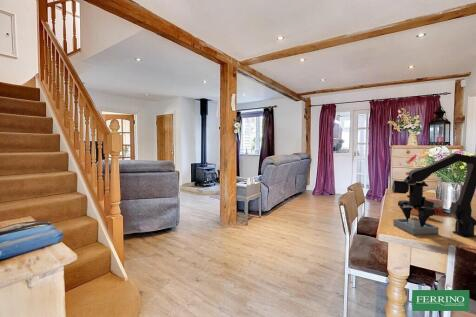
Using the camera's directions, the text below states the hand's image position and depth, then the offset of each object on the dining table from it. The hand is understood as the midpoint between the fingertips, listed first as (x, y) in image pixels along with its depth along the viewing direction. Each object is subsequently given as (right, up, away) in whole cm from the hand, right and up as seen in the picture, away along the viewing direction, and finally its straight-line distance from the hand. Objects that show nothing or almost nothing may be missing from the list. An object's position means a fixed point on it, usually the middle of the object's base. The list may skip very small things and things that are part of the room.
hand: (414, 223), depth 125 cm
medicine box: (+32, -1, +32) cm, 45 cm away
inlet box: (0, -3, 0) cm, 3 cm away
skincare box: (+20, -1, +24) cm, 31 cm away
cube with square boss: (0, -3, 0) cm, 3 cm away
